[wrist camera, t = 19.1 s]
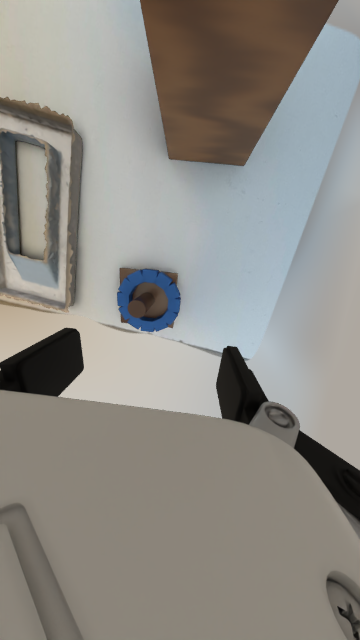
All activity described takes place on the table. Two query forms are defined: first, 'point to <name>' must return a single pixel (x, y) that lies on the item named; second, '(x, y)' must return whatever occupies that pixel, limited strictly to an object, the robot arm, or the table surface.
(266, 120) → the stand
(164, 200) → the table surface
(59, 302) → the picture frame
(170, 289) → the ring
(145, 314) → the post
